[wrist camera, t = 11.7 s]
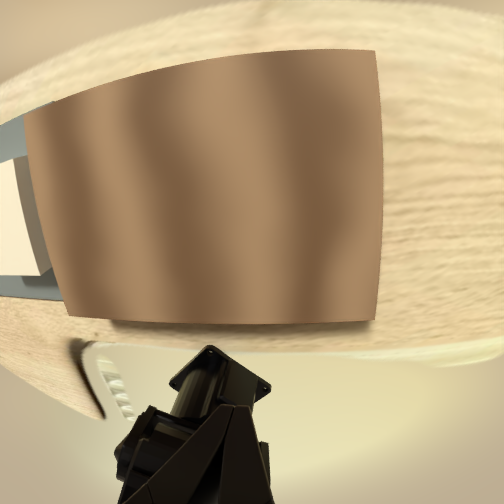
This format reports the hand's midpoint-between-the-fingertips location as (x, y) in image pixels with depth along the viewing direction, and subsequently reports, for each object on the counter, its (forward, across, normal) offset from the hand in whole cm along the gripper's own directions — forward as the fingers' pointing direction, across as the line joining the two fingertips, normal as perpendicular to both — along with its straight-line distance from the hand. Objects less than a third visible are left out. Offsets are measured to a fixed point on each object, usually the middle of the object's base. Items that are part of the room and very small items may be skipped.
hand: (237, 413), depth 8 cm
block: (+13, +4, -4) cm, 14 cm away
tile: (+11, +20, -4) cm, 23 cm away
